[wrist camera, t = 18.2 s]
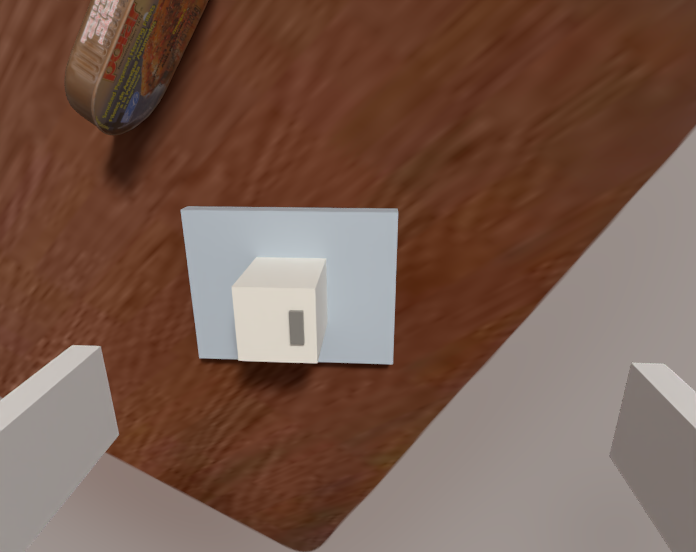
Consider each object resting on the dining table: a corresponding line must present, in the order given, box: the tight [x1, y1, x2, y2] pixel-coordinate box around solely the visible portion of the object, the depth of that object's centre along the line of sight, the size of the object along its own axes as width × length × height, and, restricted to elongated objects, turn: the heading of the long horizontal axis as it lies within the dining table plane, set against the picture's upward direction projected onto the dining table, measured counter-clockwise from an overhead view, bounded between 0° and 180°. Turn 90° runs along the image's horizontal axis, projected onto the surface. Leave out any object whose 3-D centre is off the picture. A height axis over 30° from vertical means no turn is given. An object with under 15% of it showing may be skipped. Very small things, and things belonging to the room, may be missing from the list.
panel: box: [181, 206, 398, 364], centre depth 39 cm, size 18×14×6 cm
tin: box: [65, 0, 209, 135], centre depth 32 cm, size 15×3×8 cm, turn 146°
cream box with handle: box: [232, 257, 328, 363], centre depth 37 cm, size 6×6×7 cm
